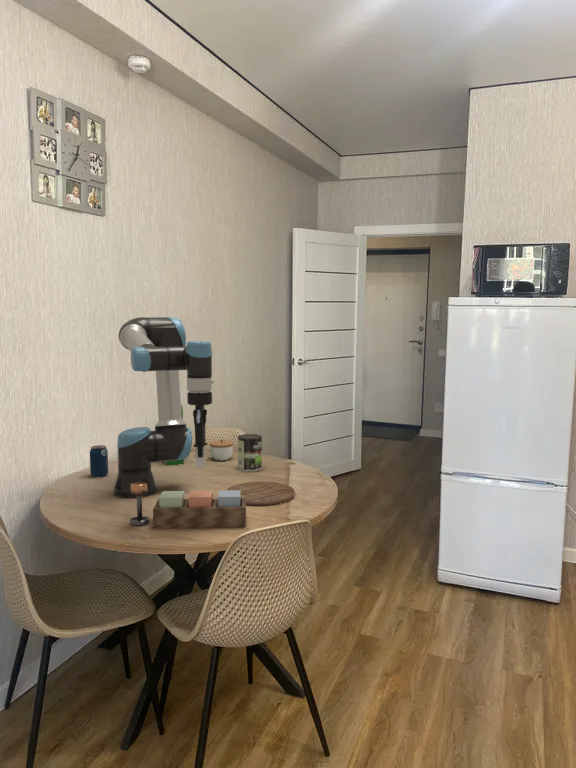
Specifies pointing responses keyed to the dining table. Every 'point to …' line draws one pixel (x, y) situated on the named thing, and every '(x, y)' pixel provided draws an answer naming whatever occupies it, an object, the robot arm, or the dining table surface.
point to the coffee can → (249, 452)
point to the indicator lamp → (139, 504)
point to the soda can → (98, 461)
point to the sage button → (171, 499)
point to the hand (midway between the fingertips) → (200, 466)
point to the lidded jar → (221, 449)
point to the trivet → (264, 493)
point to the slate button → (229, 498)
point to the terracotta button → (201, 499)
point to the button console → (200, 516)
